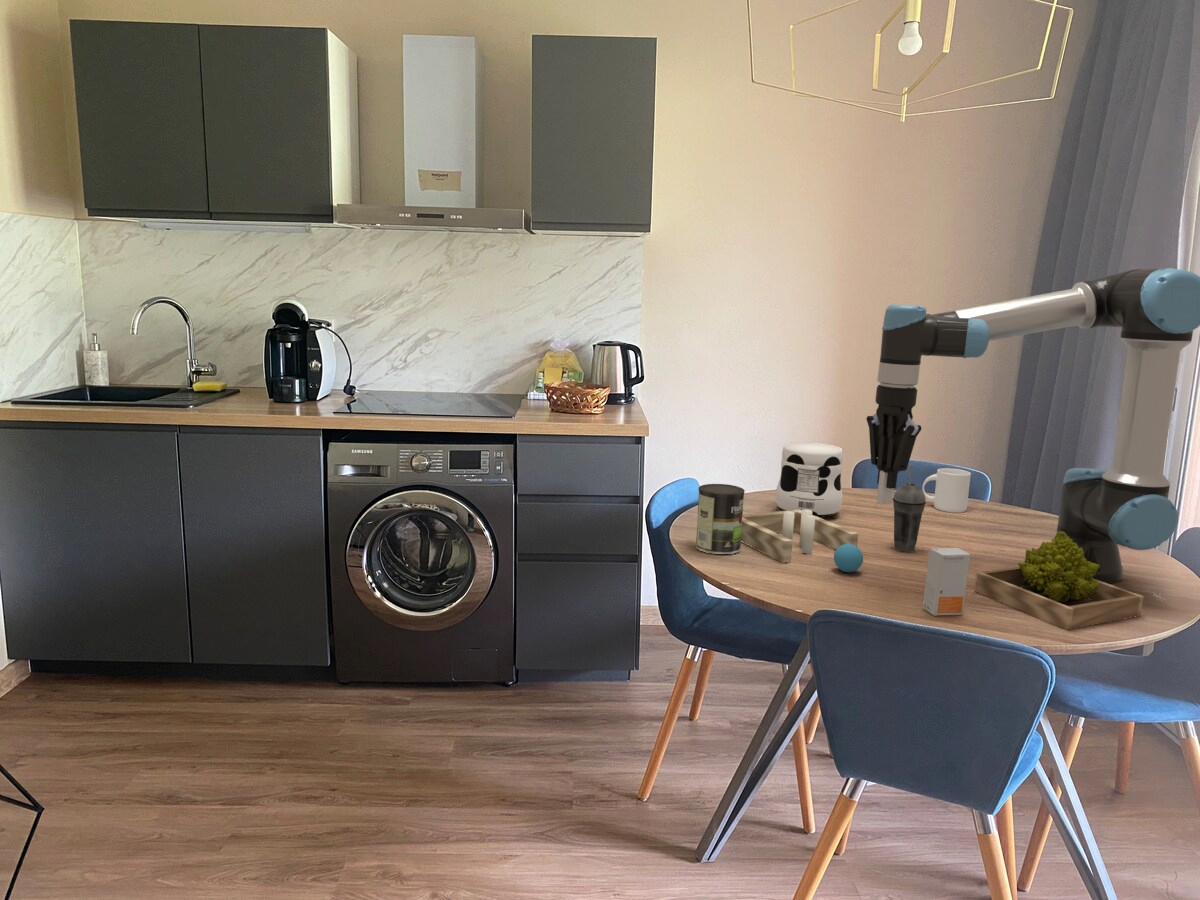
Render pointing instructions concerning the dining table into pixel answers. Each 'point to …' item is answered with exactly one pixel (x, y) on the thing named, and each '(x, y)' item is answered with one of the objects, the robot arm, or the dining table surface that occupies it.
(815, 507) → the milk container
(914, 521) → the beverage cup
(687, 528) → the dining table surface
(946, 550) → the skincare box
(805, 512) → the pin back right
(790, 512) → the pin back left
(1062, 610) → the crate
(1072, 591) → the vegetable
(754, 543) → the bumper
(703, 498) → the coffee can
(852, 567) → the ball
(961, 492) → the mug
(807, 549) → the pin front
